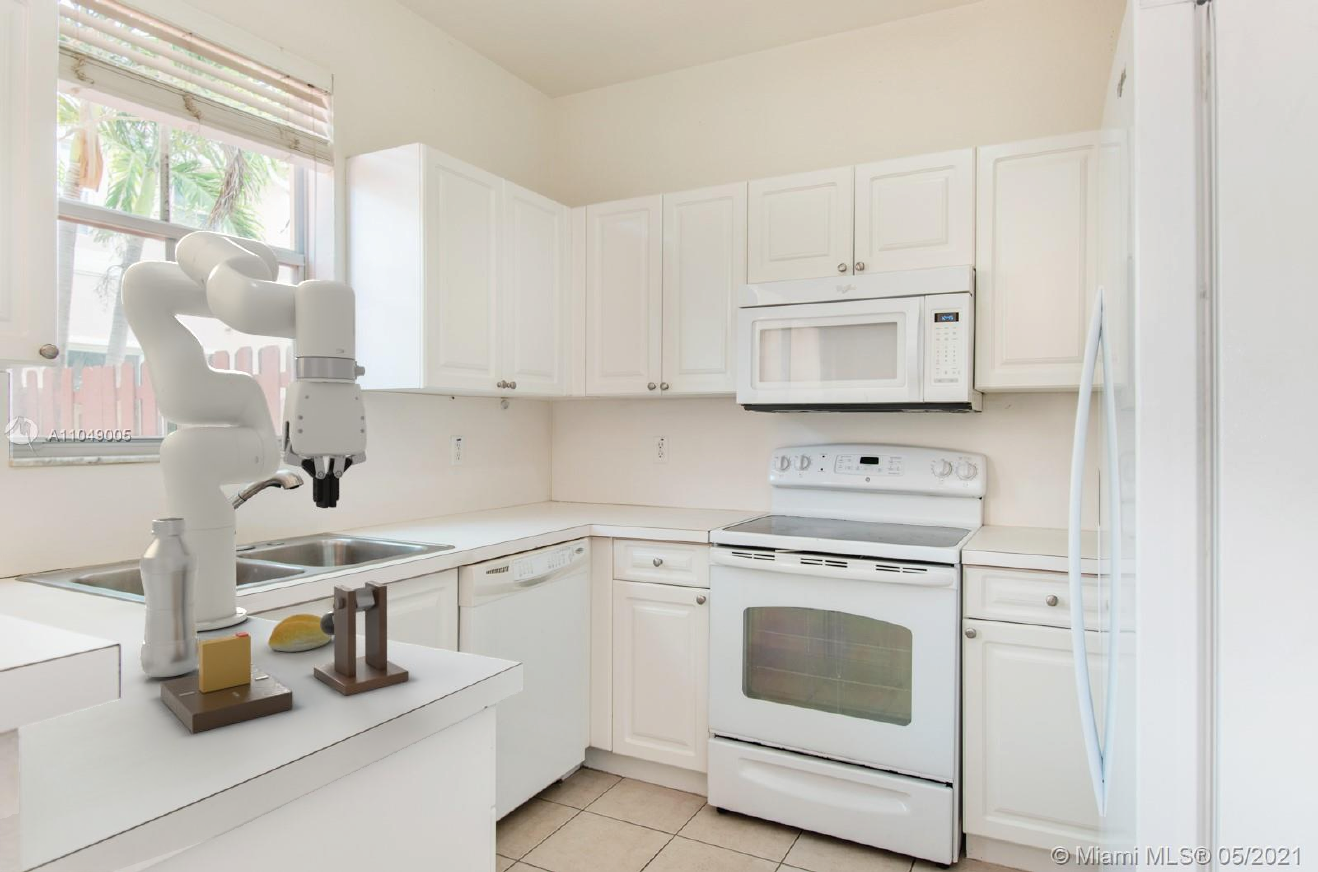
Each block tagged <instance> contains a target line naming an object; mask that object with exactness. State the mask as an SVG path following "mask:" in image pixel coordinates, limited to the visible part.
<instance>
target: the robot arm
mask: <svg viewBox="0 0 1318 872" xmlns="http://www.w3.org/2000/svg"><path fill="white" fill-rule="evenodd" d="M174 257H175V260H176V262H175V261H169V260H168V261H167V260H141V261H138V262H135V263H133V264H131V265H130V266H129V267H128V268H127V269H126V270H125V272H124V274H123V275H122V279H121V288H120V294H121V295H120V296H121V304H122V310H123V313H124V316H125V319H126V321H127V323H128V326H129V327H130V329H131V331H132V333H133V335H134V337H135V339H136V340H137V342H138V344H139V346H140V348H141V350H142V352H143V355H144V358H145V363H146V367H147V370H148V375H149V378H150V383H151V387H152V390H153V395H154V399H155V401H156V405H157V408H158V411H159V413H160V415H161V416H162V418H163V419H164V420H165V421H166V422H168V423H170V424H173V425H177V426H188V427H183V428H179V429H177V430H174V431H172V432H170V433H169V434H167V435H166V436H165V437H164V438H163V439H162V442H161V443H160V446H159V453H158V454H159V457H158V458H159V464H160V469H161V474H162V478H163V484H164V490H165V497H166V518H186V529H187V533H185V534H184V535H185V538H186V539H187V540H188V542H189V543H190V544H191V545H192V546H193V548H194V549H195V550H196V552H197V555H198V557H199V565H198V572H197V579H196V586H195V599H194V602H195V608H194V610H195V619H196V628H197V632H202V631H203V632H204V631H210V630H217V629H221V628H226V627H230V626H231V627H232V626H234V625H237V624H240V623H242V622H244V621H245V620H247V618H248V610H247V609H245V608H244V607H239V606H237V515H236V510H235V508H234V505H233V503H232V502H231V500H230V499H229V497H227V495H226V494H225V493H224V491H223V490H222V489H221V487H220V486H227V485H228V486H229V485H242V484H243V485H244V484H255V483H262V482H267V481H268V480H270V479H273V477H274V476H275V475H276V474H277V473H278V471H279V469H280V465H281V449H282V451H283V452H284V456H283V464H285V465H288V466H294V467H298V468H301V469H302V470H303V471H304V472H306V473H307V474H308V476H309V477H310V478H312V501H313V503H315V506H316V507H317V508H320V509H329V508H331V509H334V508H337V506H338V505H337V504H338V503H337V502H338V501H339V500H340V478H342V477H343V475H344V473H346V472H347V470H348V469H350V467H351V466H355V465H359V464H362V463H364V462H366V461H367V456H366V450H367V443H368V442H367V441H368V433H367V432H368V430H367V419H366V409H365V403H364V401H365V400H364V395H363V391H362V388H361V387H362V386H361V384H360V383H356V380H358V377H364V376H365V375H366V368H365V366H361V365H359V364H358V361H357V360H356V293H355V290H354V289H353V287H352V286H351V285H349V284H347V283H345V282H342V281H337V280H328V279H307V280H303V281H301V282H299V284H298V285H294V284H290V283H283V282H278V277H279V272H280V263H279V260H278V258H277V257H278V256H277V255H276V253H275V251H274V250H273V249H272V248H271V247H270V245H268V244H266V243H264V242H262V241H259V240H256V239H251V238H246V237H240V236H236V235H231V234H226V233H222V232H217V231H211V230H210V231H209V230H208V231H207V230H197V231H193V232H190V233H187V234H186V235H185V236H183V237H182V238H181V239H180V240H179V241H178V243H177V244H176V247H175V256H174ZM176 315H180V316H188V317H189V316H190V317H199V318H207V319H215V320H219V321H220V322H222V323H223V324H224V325H226V326H228V327H229V328H231V329H232V330H234V331H237V332H239V333H243V334H246V335H252V336H262V337H273V338H282V339H289V340H295V341H294V342H295V381H289V382H288V384H287V388H286V394H285V399H284V405H283V413H282V414H283V415H282V426H281V449H280V443H279V439H278V436H277V432H276V429H275V425H274V422H273V418H272V415H271V411H270V407H269V405H268V401H267V397H266V394H265V392H264V391H265V390H264V389H263V386H262V385H261V383H260V382H259V381H258V380H257V378H255V377H254V376H253V375H251V374H250V373H247V372H244V371H239V370H230V369H228V370H227V369H226V370H225V369H216V368H213V367H211V365H210V364H209V362H208V360H207V358H206V353H205V349H204V346H203V344H202V342H201V341H200V339H199V338H198V337H197V335H196V334H195V333H194V332H193V331H192V330H191V329H190V328H189V327H188V326H187V325H186V324H185V323H184V322H182V321H181V320H179V319H178V317H177V316H176ZM301 456H302V457H301ZM326 456H328V459H327V467H325V462H324V461H325V460H324V457H326ZM304 457H305V458H304Z"/></svg>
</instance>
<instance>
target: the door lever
mask: <svg viewBox="0 0 1318 872" xmlns="http://www.w3.org/2000/svg"><path fill="white" fill-rule="evenodd" d="M353 590H356V614H357V613H362V612H365V611H367V610H368V609H369V608H371V607H372V606H373V605H374V604H375V602H374V598H373V593H372V588H371V586H370V587H365V586H363V587H357V588H354V589H353ZM321 618H322V619H321V621H320V627H321V630H322V631H323V632H324V633H325V634H327V635H332V636H334V610H331V611H328V612H326V613H325V614H324V615H323V616H322V617H321Z"/></svg>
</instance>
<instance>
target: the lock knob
mask: <svg viewBox="0 0 1318 872" xmlns="http://www.w3.org/2000/svg"><path fill="white" fill-rule="evenodd" d="M199 641H200V640H199ZM251 664H252V636H251V635H249V633H247V632H246V631H243V632H242V631H241V632H236V633H235V635H230V636H224V637H219V638H218V637H217V638H212V639H206V640H201V641H200V642H199V663H198V675H199V690H200V691H201V692H203V693H205V692H210V691H215V690H219V689H224V688H229V687H233V686H238V685H243V684H247V683H251Z"/></svg>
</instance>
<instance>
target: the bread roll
mask: <svg viewBox="0 0 1318 872" xmlns="http://www.w3.org/2000/svg"><path fill="white" fill-rule="evenodd" d="M321 619H322V617H321V616H318V615H314V614H310V613H309V614H308V613H298V614H293V615H290V616H288V617H286V618H284V619H283V620H281V621H280V622H279V623H277V624H276V626H274V628H273V629H272V632H271V634H270V637H269V639H268V645H269V647H270V648H271V649H272V650H274V651H278V652H286V653H287V652H288V653H293V652H304V651H309V650H312V649H317V648H319V647H322V646H324V645H326V644H328V643H329V642H330V641H331V639H332V637H333V635H327V634H325V633H324V632H323V631H322V630H321V627H320V621H321Z"/></svg>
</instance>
